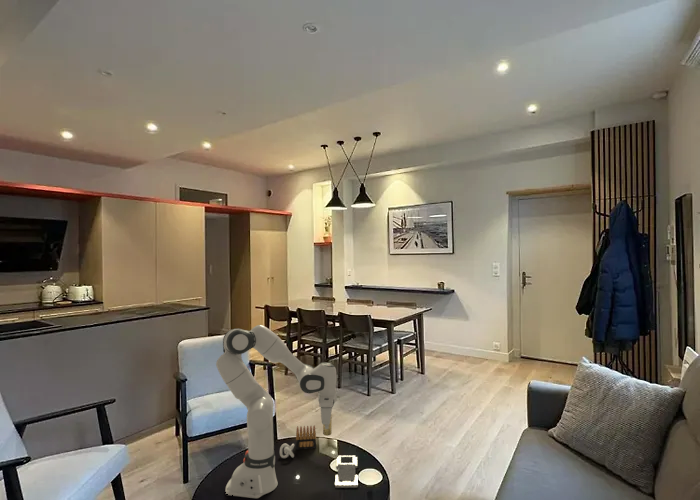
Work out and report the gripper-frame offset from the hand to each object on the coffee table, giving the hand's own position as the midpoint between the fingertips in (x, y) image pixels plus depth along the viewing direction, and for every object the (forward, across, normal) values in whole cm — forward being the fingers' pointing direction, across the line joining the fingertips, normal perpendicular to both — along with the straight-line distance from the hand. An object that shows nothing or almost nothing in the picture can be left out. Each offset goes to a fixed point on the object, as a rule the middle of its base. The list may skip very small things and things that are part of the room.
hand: (327, 426), depth 190 cm
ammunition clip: (+21, -21, -12) cm, 32 cm away
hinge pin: (+4, 0, 0) cm, 4 cm away
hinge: (+20, +3, +10) cm, 23 cm away
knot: (+21, -13, -20) cm, 32 cm away
